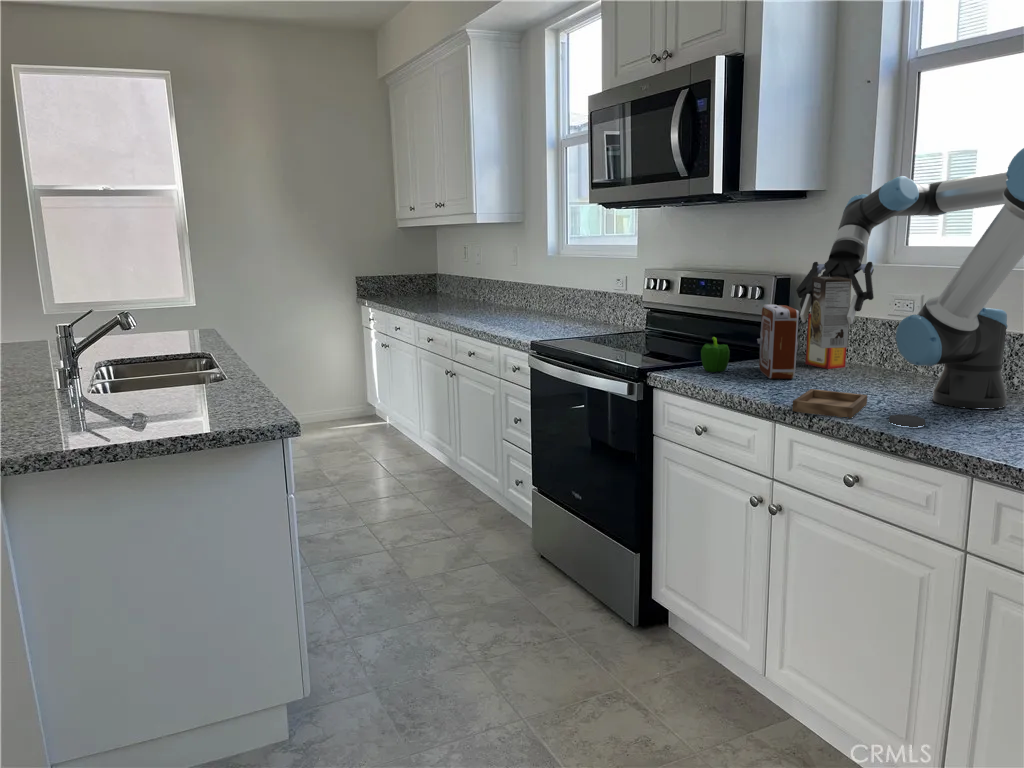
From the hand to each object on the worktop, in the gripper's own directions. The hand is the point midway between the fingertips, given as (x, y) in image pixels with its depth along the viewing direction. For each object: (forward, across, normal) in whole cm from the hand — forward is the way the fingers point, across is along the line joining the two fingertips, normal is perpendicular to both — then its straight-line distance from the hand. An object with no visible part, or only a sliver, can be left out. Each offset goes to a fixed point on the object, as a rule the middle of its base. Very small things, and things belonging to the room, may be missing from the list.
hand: (825, 319), depth 176 cm
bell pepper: (-4, +39, -33) cm, 51 cm away
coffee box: (+2, 0, -7) cm, 7 cm away
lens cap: (+20, -20, -10) cm, 30 cm away
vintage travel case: (-8, +23, -37) cm, 44 cm away
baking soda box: (-22, +15, -52) cm, 58 cm away
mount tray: (+16, -2, -14) cm, 21 cm away
